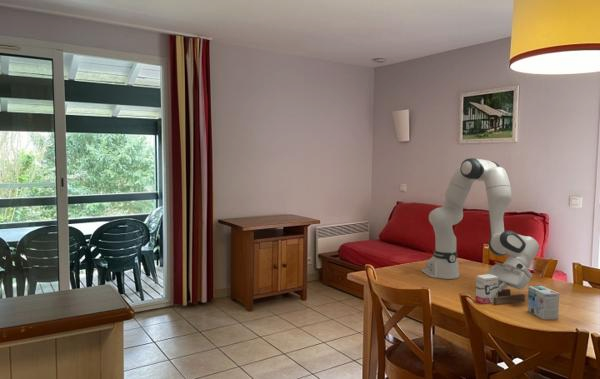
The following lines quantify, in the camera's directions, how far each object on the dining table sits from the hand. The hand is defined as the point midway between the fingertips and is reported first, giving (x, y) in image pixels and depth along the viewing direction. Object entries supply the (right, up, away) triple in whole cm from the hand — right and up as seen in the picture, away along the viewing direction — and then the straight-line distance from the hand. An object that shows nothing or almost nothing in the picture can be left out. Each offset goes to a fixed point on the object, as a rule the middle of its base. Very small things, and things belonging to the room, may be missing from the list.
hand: (496, 290), depth 194 cm
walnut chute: (+3, -5, +1) cm, 6 cm away
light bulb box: (+11, -6, -18) cm, 22 cm away
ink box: (-5, -5, -1) cm, 7 cm away
